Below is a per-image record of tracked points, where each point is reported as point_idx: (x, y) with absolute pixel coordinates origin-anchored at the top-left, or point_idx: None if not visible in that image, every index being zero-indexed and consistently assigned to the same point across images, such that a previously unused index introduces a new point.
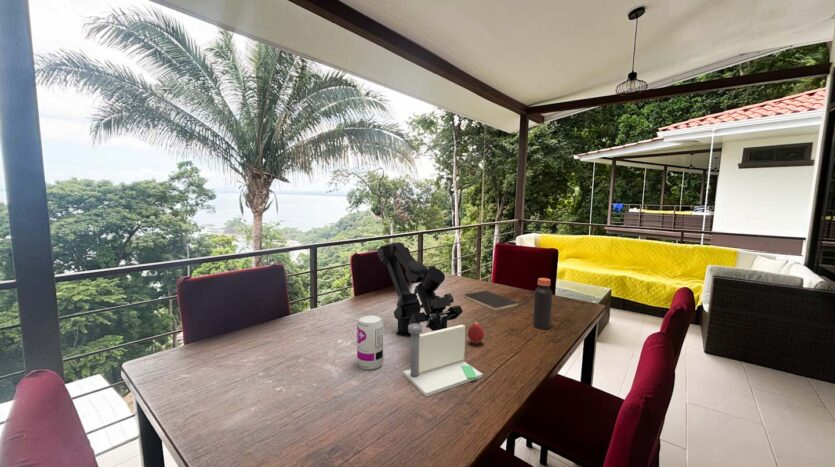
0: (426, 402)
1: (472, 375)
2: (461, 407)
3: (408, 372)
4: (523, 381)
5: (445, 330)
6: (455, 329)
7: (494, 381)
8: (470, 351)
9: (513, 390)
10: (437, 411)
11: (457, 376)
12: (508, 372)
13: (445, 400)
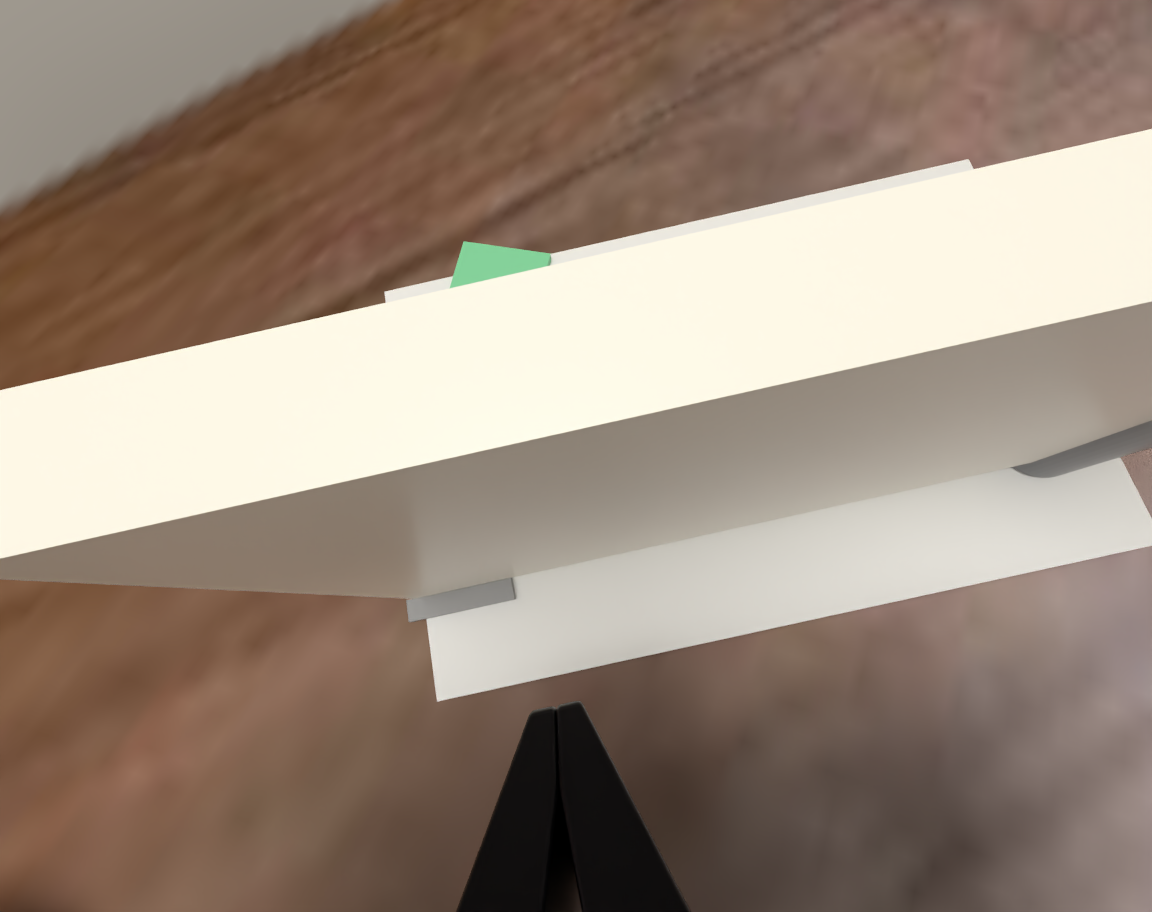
0: (959, 127)
1: (487, 274)
2: (730, 43)
3: (1097, 504)
4: (155, 189)
5: (804, 222)
6: (392, 324)
7: (347, 235)
8: (193, 823)
9: (300, 118)
10: (902, 39)
11: None
12: (156, 317)
13: (812, 120)
